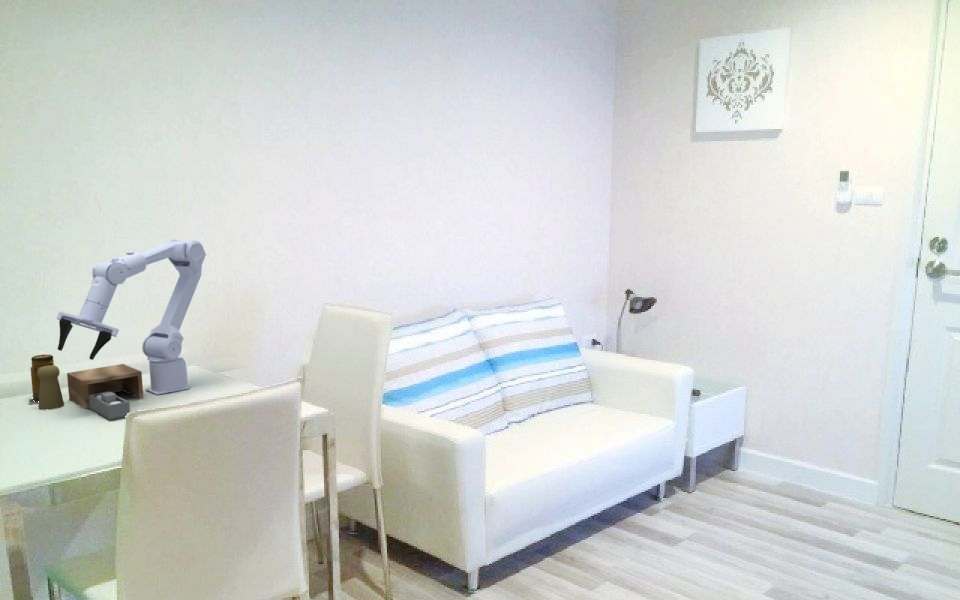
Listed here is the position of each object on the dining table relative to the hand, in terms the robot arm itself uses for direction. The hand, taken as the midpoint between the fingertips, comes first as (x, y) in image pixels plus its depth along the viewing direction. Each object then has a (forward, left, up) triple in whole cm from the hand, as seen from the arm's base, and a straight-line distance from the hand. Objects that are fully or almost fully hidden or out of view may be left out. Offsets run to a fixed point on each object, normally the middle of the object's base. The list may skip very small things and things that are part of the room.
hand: (75, 354), depth 198 cm
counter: (-10, -11, -16) cm, 22 cm away
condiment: (+2, -23, -16) cm, 28 cm away
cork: (+3, -14, -16) cm, 21 cm away
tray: (-6, +4, -16) cm, 17 cm away
